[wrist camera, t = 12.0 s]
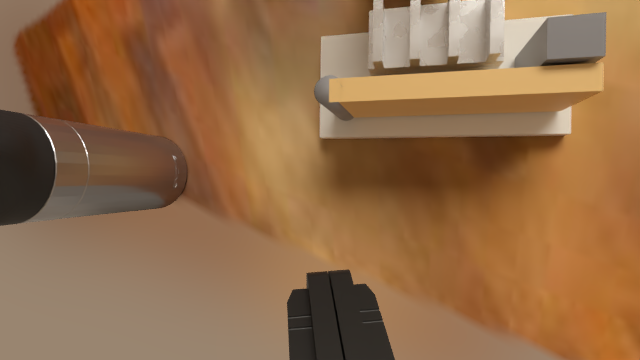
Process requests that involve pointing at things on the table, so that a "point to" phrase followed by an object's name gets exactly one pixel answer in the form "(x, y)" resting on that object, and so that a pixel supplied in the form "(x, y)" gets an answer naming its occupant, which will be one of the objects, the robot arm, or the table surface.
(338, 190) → the table surface
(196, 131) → the table surface
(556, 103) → the leaning tan board
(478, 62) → the white toothed block
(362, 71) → the white grey slotted rack
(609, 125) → the table surface
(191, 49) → the table surface
